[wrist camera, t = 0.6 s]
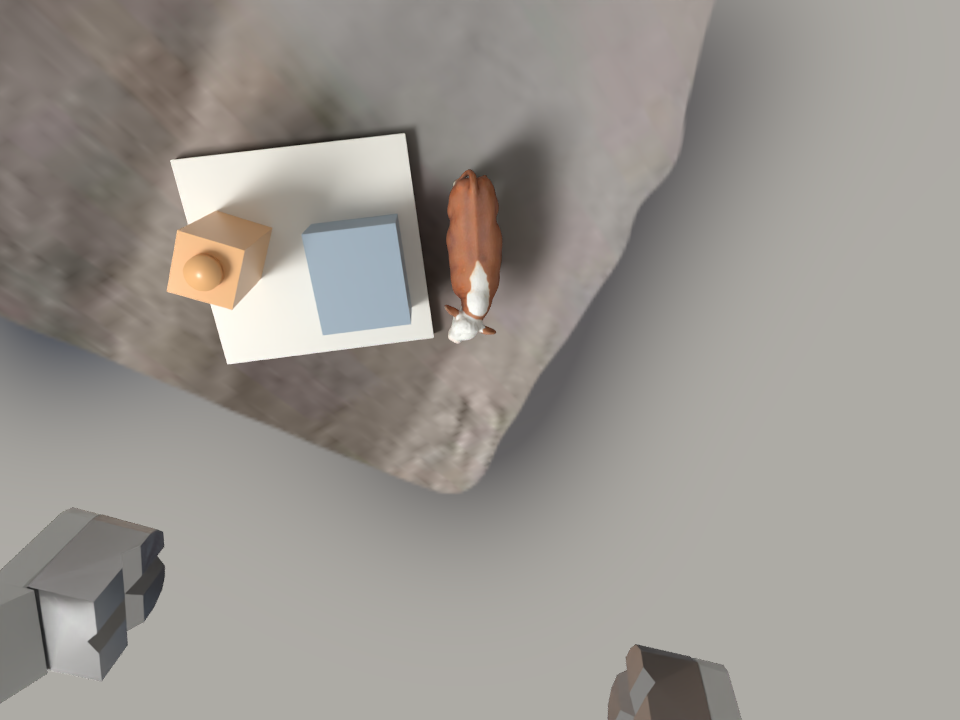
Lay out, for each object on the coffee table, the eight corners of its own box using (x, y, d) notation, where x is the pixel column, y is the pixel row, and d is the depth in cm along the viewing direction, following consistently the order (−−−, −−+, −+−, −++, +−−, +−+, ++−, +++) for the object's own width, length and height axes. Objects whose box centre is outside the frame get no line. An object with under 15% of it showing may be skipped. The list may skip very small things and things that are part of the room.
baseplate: (174, 159, 49) (170, 160, 48) (405, 132, 50) (404, 133, 49) (230, 360, 55) (227, 364, 54) (433, 333, 56) (433, 337, 55)
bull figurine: (439, 319, 56) (442, 353, 48) (446, 162, 51) (451, 171, 43) (488, 321, 56) (498, 355, 49) (500, 165, 51) (514, 175, 44)
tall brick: (206, 262, 51) (162, 294, 42) (216, 210, 50) (172, 232, 41) (260, 278, 52) (228, 313, 43) (272, 227, 50) (241, 252, 42)
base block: (311, 224, 51) (301, 234, 46) (397, 213, 51) (395, 223, 47) (330, 317, 54) (322, 335, 49) (411, 307, 54) (411, 324, 50)
